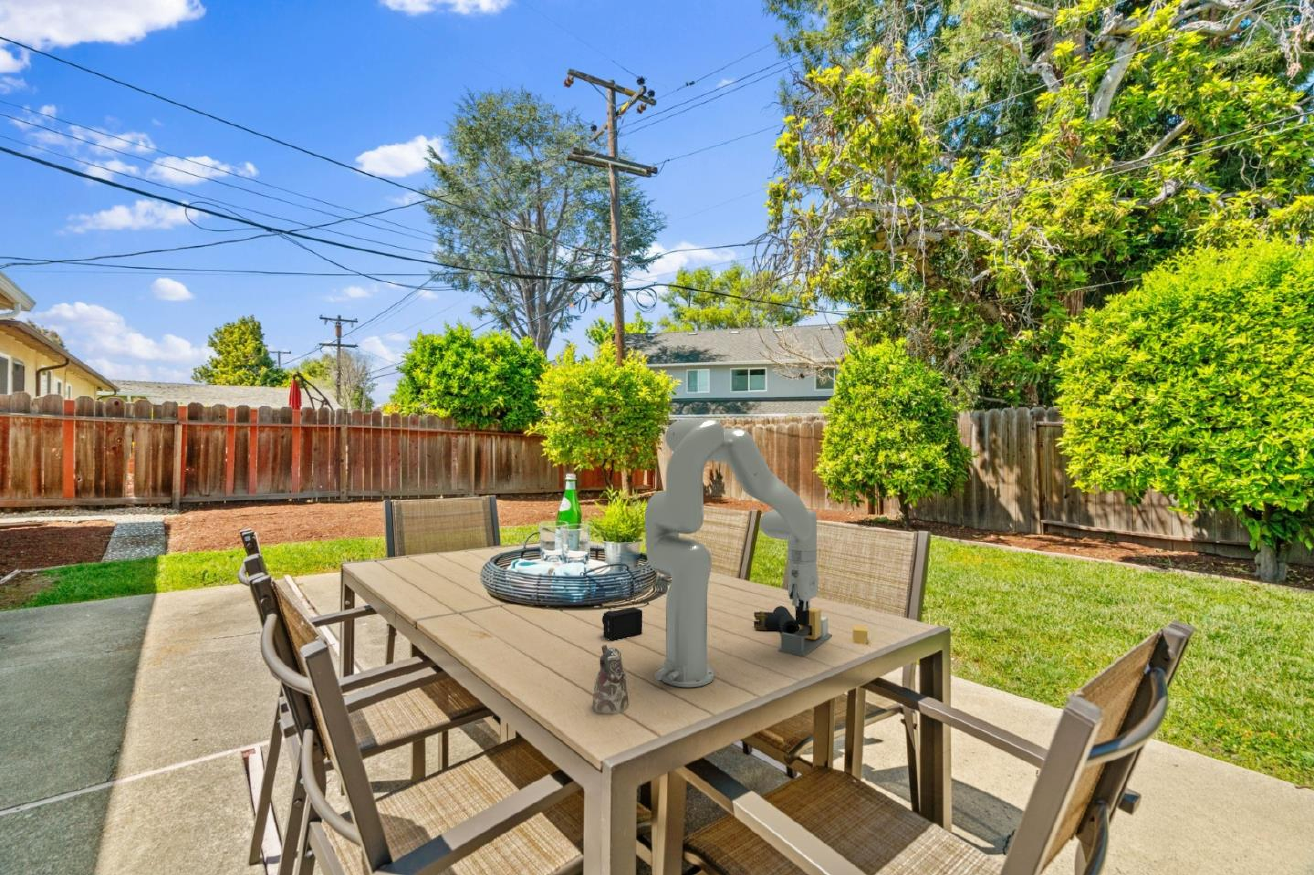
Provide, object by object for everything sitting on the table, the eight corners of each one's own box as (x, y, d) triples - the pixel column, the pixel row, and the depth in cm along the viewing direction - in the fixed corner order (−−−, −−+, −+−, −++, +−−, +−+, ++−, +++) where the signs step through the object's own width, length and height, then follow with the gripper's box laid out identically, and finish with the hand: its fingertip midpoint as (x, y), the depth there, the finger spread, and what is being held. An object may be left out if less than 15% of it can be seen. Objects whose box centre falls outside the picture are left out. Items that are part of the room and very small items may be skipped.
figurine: (604, 717, 114) (604, 656, 114) (586, 704, 120) (586, 646, 120) (634, 708, 118) (634, 648, 118) (616, 696, 124) (616, 639, 124)
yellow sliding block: (814, 639, 157) (814, 612, 157) (799, 636, 160) (799, 610, 160) (821, 635, 161) (820, 609, 161) (805, 632, 163) (805, 606, 163)
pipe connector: (759, 619, 163) (751, 604, 178) (758, 638, 163) (751, 622, 178) (800, 620, 163) (789, 605, 178) (799, 639, 163) (788, 623, 178)
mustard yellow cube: (867, 644, 157) (867, 631, 158) (853, 643, 158) (853, 630, 159) (866, 639, 162) (866, 626, 162) (852, 638, 163) (852, 625, 163)
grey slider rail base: (804, 656, 148) (804, 636, 148) (778, 650, 152) (778, 630, 152) (832, 636, 164) (832, 617, 164) (808, 631, 168) (808, 613, 168)
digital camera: (631, 629, 170) (631, 605, 170) (642, 634, 165) (642, 609, 165) (601, 636, 163) (601, 611, 163) (611, 641, 159) (611, 616, 159)
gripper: (804, 561, 148) (804, 634, 148) (825, 553, 160) (825, 620, 160) (777, 558, 152) (777, 628, 152) (799, 550, 164) (799, 615, 164)
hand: (802, 624), depth 156 cm, fingers closed
